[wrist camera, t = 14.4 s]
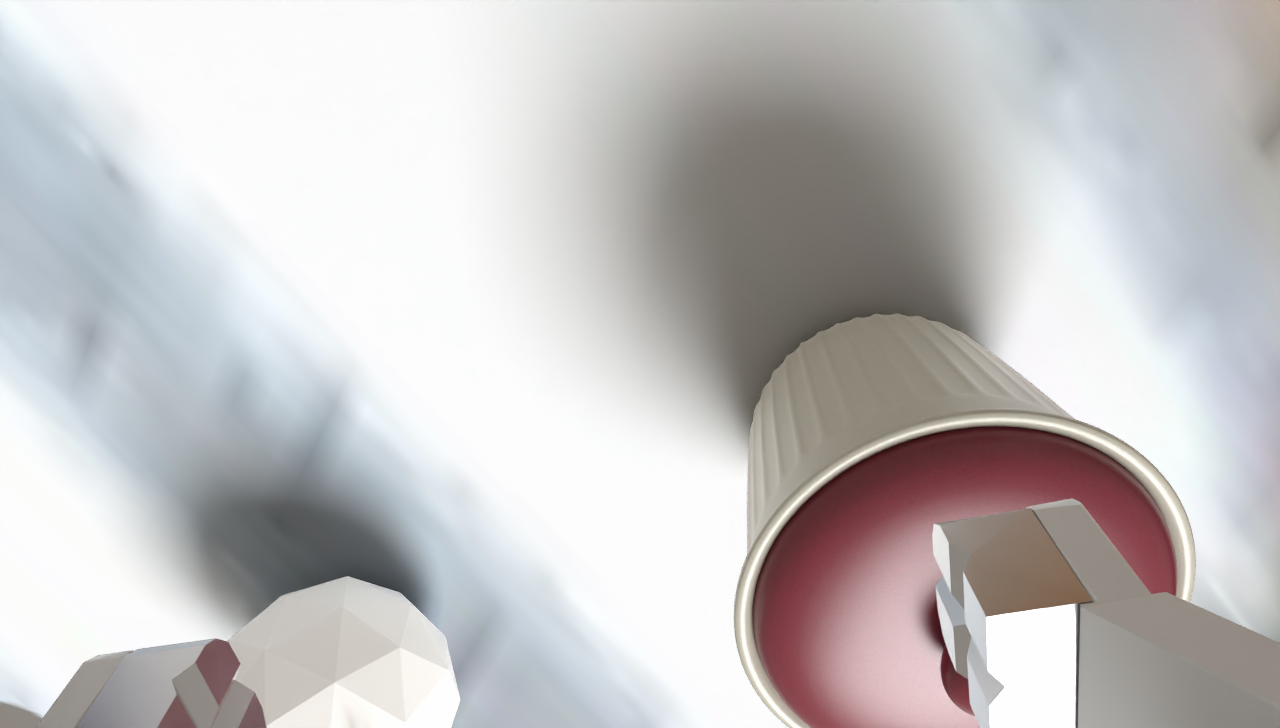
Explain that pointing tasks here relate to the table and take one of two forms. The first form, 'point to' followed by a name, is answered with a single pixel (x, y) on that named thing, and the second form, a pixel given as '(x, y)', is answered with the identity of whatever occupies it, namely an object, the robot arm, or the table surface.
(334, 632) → the geodesic sphere
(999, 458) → the canister
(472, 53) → the table surface
